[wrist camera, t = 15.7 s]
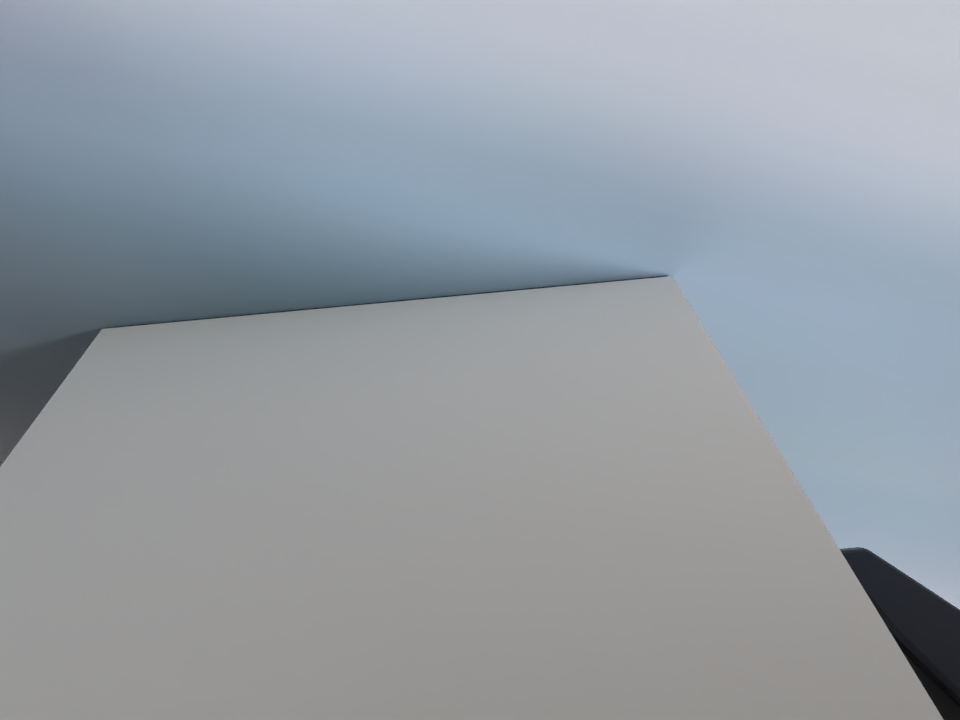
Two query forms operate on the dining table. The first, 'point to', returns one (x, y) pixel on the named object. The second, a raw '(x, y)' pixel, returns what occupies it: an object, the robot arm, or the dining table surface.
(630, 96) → the dining table surface
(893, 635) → the robot arm
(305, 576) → the plain white closed box
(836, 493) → the dining table surface
